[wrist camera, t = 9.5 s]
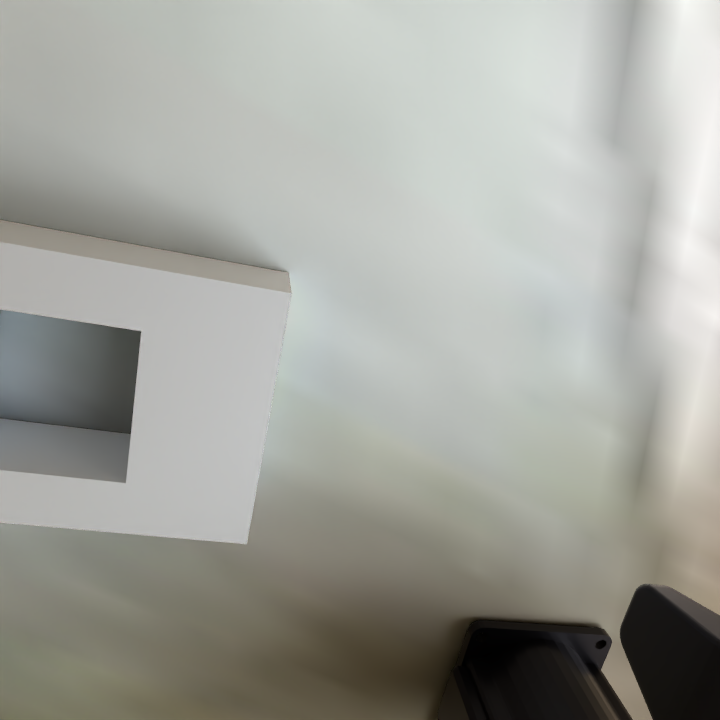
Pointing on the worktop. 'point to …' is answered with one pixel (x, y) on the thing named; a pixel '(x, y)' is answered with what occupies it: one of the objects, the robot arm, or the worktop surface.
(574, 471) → the worktop surface
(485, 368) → the worktop surface
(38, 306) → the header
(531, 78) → the worktop surface
